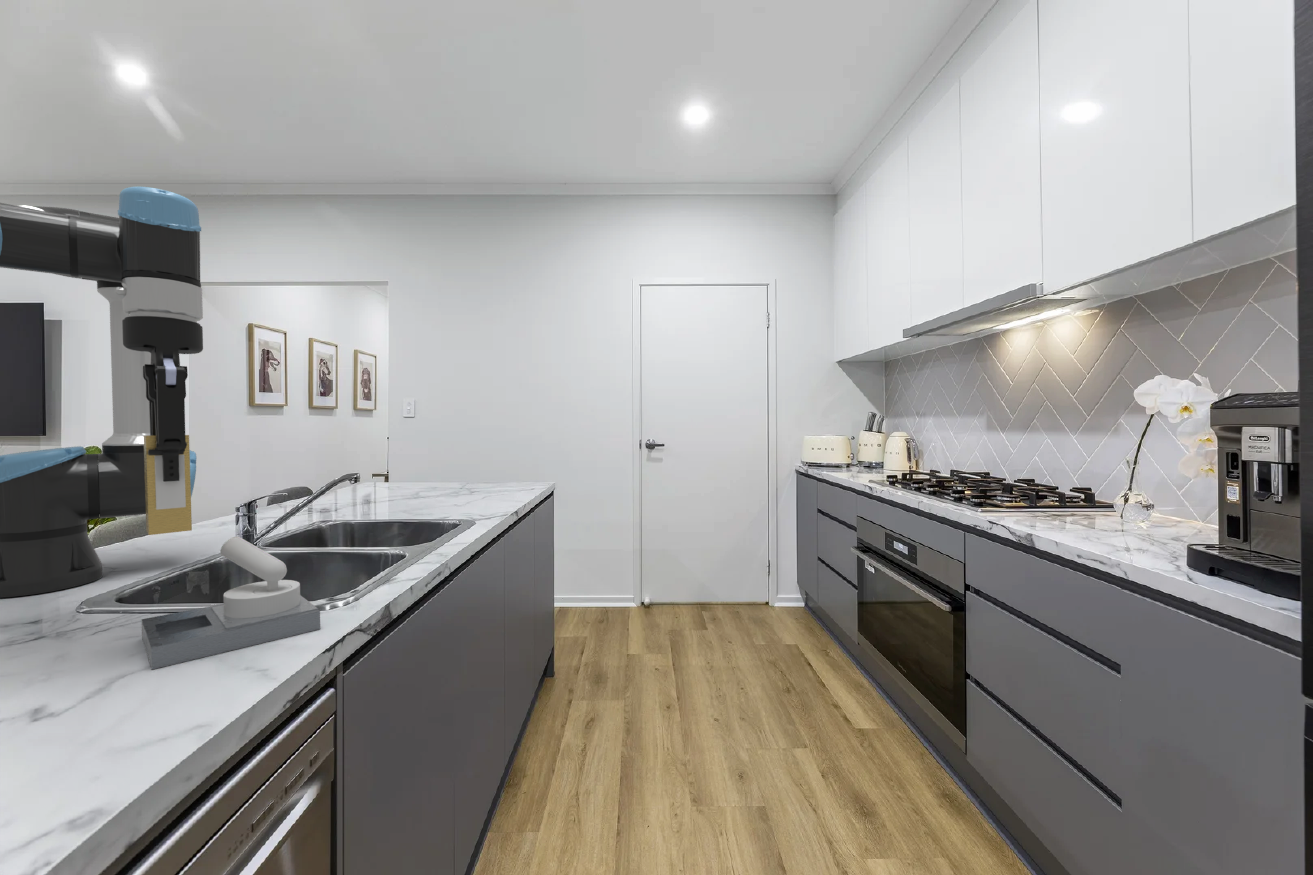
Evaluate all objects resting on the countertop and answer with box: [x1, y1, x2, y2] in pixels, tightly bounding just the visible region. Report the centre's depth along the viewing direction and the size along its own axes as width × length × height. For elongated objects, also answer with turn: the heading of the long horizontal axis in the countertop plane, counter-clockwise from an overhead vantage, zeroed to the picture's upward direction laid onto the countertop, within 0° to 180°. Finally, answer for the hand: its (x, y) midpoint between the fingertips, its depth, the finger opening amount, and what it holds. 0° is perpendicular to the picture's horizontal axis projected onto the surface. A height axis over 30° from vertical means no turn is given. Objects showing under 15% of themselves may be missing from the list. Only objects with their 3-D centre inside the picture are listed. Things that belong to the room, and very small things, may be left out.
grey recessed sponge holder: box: [140, 594, 321, 670], centre depth 74 cm, size 13×17×3 cm
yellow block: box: [143, 434, 193, 536], centre depth 70 cm, size 4×4×12 cm
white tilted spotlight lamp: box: [219, 536, 301, 618], centre depth 77 cm, size 9×10×10 cm
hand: (169, 505), depth 70 cm, fingers closed on yellow block, 4 cm apart
